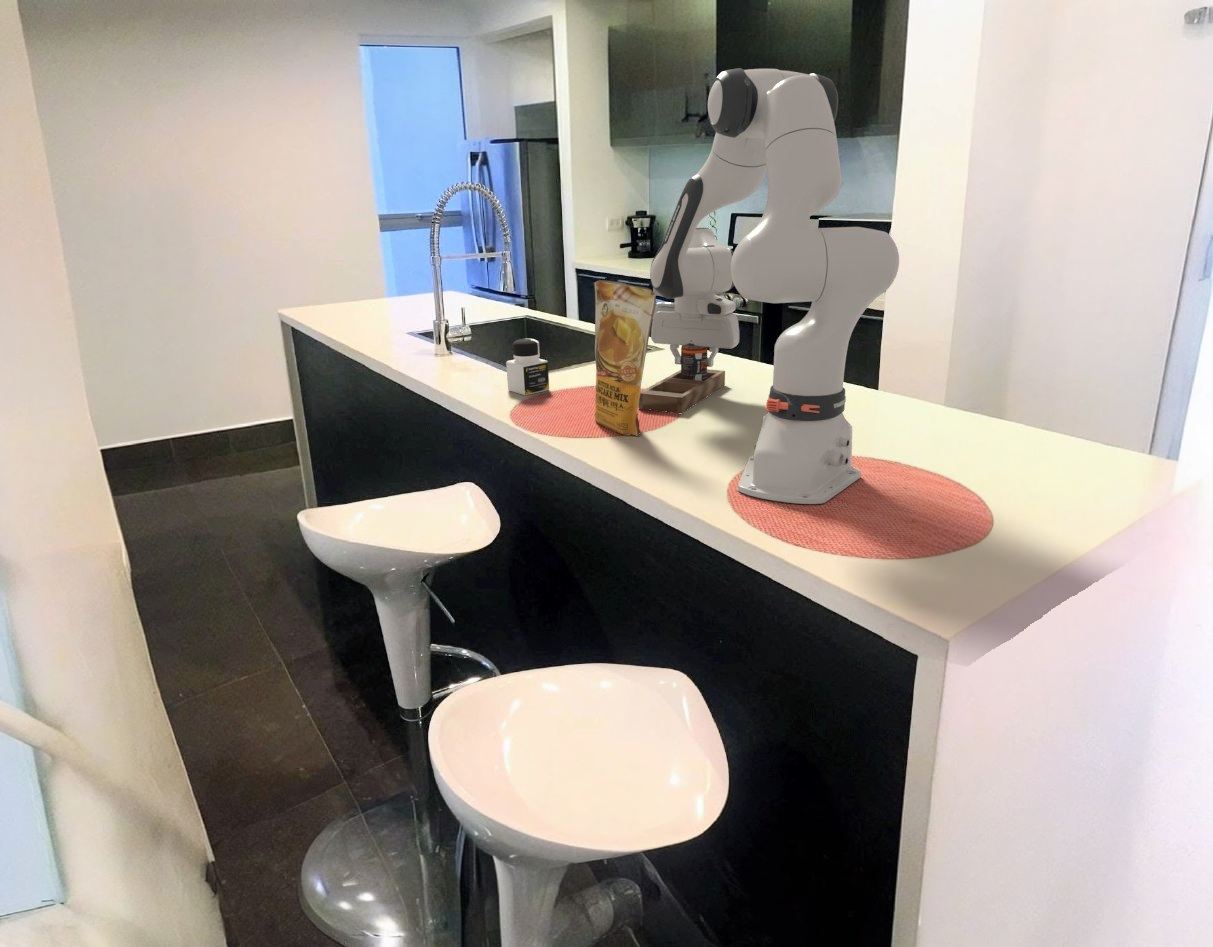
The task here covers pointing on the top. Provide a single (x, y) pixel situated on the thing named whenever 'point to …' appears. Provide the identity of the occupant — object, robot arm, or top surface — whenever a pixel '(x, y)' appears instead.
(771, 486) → the robot arm
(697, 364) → the supplement bottle
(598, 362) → the pancake mix bag
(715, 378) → the rail
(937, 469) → the top surface
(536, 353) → the medicine bottle
